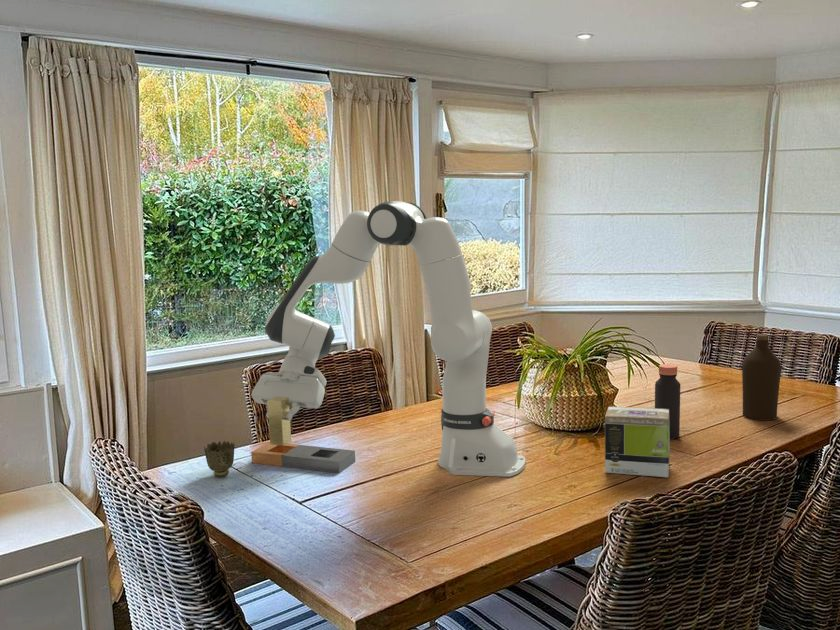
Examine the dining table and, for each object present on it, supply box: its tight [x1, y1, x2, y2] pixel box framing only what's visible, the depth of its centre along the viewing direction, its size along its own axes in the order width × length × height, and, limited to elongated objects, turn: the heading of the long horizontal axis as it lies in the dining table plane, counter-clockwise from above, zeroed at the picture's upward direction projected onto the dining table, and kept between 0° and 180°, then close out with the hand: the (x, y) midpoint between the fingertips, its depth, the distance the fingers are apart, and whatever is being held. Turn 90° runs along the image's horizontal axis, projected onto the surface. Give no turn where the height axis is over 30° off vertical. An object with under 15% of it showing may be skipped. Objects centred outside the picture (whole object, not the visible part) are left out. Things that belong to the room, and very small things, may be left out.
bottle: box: [654, 363, 681, 440], centre depth 212 cm, size 7×7×20 cm
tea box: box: [604, 405, 671, 478], centre depth 186 cm, size 15×10×15 cm
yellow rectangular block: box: [267, 397, 292, 446], centre depth 201 cm, size 4×4×12 cm
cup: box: [203, 440, 236, 478], centre depth 191 cm, size 8×7×8 cm
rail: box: [250, 441, 356, 474], centre depth 200 cm, size 26×9×3 cm, turn 68°
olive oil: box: [741, 333, 782, 421], centre depth 227 cm, size 11×11×25 cm
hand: (278, 418), depth 200 cm, fingers closed on yellow rectangular block, 4 cm apart
